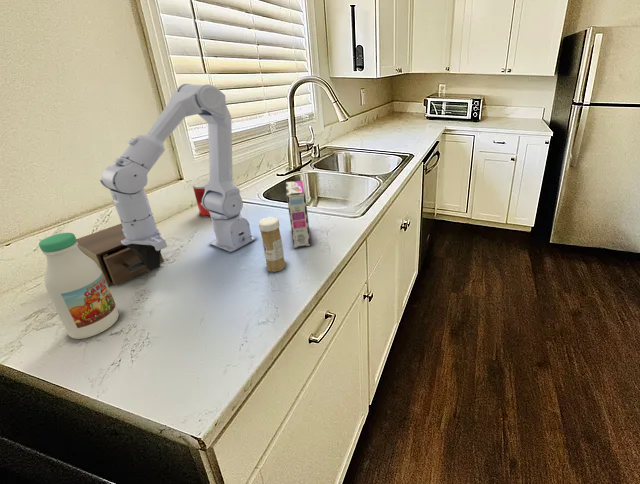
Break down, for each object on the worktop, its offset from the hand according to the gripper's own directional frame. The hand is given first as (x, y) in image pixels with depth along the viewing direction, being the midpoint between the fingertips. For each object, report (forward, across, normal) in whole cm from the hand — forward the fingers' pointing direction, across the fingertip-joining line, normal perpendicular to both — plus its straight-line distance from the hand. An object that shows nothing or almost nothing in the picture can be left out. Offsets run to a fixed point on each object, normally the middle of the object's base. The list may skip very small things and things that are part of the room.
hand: (154, 267), depth 78 cm
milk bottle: (+4, +5, -14) cm, 15 cm away
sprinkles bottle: (+4, +22, +17) cm, 28 cm away
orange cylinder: (+2, -11, -1) cm, 11 cm away
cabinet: (+3, -14, -1) cm, 15 cm away
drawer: (+3, -9, -1) cm, 10 cm away
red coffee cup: (+4, -24, +30) cm, 39 cm away
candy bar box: (+4, +17, +31) cm, 35 cm away
